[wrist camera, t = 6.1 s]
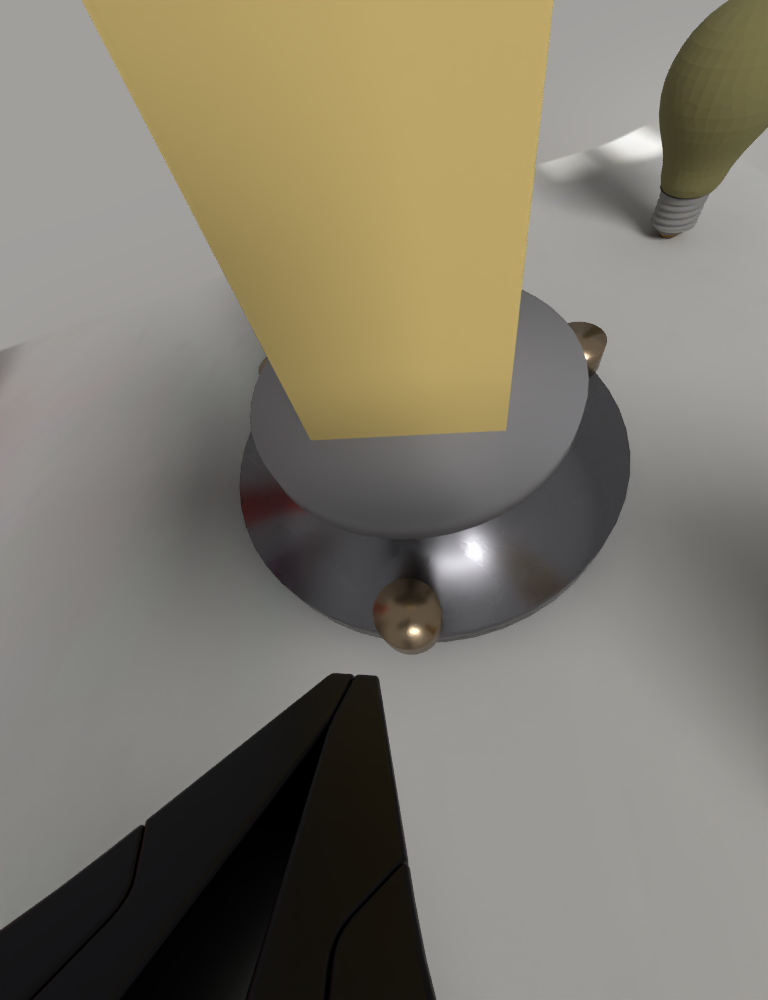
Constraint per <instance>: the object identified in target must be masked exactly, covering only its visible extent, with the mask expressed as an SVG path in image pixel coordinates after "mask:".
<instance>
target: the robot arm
mask: <svg viewBox="0 0 768 1000" xmlns="http://www.w3.org/2000/svg"><path fill="white" fill-rule="evenodd" d="M0 1000H436V996H435V992H434V988H433V984H432V980H431V976H430V972H429V968H428V964H427V960H426V955H425V950H424V945H423V939H422V934H421V929H420V924H419V919H418V914H417V908H416V903H415V897H414V891H413V885H412V879H411V872H410V868H409V866H408V856H407V850H406V844H405V837H404V831H403V825H402V819H401V813H400V806H399V800H398V794H397V788H396V782H395V775H394V769H393V763H392V757H391V751H390V744H389V738H388V732H387V726H386V720H385V713H384V707H383V701H382V695H381V689H380V682H379V678H378V677H377V676H372V675H356V676H355V677H354V676H353V675H352V674H340V673H332V674H330V675H329V676H327V677H326V678H325V679H323V680H322V681H321V682H320V683H318V684H317V685H316V686H315V687H313V688H312V689H311V690H310V691H308V692H307V693H306V694H305V695H303V696H302V697H301V698H300V699H298V700H297V701H296V702H295V703H293V704H292V705H291V706H289V707H288V708H287V709H286V710H284V711H283V712H282V713H281V714H279V715H278V716H277V717H276V718H274V719H273V720H272V721H271V722H269V723H268V724H267V725H266V726H264V727H263V728H262V729H261V730H259V731H258V732H257V733H255V734H254V735H253V736H252V737H250V738H249V739H248V740H247V741H245V742H244V743H243V744H242V745H240V746H239V747H238V748H237V749H235V750H234V751H233V752H232V753H230V754H229V755H228V756H227V757H225V758H224V759H223V760H222V761H220V762H219V763H218V764H216V765H215V766H214V767H213V768H211V769H210V770H209V771H208V772H206V773H205V774H204V775H203V776H201V777H200V778H199V779H198V780H196V781H195V782H194V783H193V784H191V785H190V786H189V787H188V788H186V789H185V790H184V791H183V792H181V793H180V794H179V795H177V796H176V797H175V798H174V799H172V800H171V801H170V802H169V803H167V804H166V805H165V806H164V807H162V808H161V809H160V810H159V811H157V812H156V813H155V814H154V815H152V816H151V817H150V818H149V819H147V821H146V823H145V826H144V825H140V826H138V827H137V828H136V829H134V830H133V831H132V832H131V833H129V834H128V835H127V836H126V837H124V838H123V839H122V840H121V841H119V842H118V843H117V844H115V845H114V846H113V847H112V848H110V849H109V850H108V851H107V852H105V853H104V854H103V855H101V856H100V857H99V858H97V859H96V860H95V861H93V862H92V863H91V864H90V865H88V866H87V867H86V868H84V869H83V870H82V871H80V872H79V873H78V874H77V875H75V876H74V877H73V878H71V879H70V880H69V881H67V882H66V883H65V884H64V885H62V886H61V887H60V888H58V889H57V890H55V891H54V892H53V893H51V894H50V895H48V896H47V897H46V898H44V899H43V900H42V901H40V902H39V903H37V904H36V905H35V906H33V907H32V908H30V909H29V910H28V911H26V912H25V913H24V914H22V915H21V916H19V917H18V918H17V919H15V920H14V921H12V922H11V923H10V924H8V925H7V926H6V927H4V928H3V929H1V930H0Z"/></svg>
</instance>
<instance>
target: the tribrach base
mask: <svg viewBox="0 0 768 1000" xmlns="http://www.w3.org/2000/svg"><path fill="white" fill-rule="evenodd" d="M567 324H568V325H569V326H570V327H571V329H572V330H573V331H574V333H575V335H576V337H577V338H578V340H579V342H580V344H581V346H582V349H583V352H584V355H585V358H586V361H587V368H588V376H589V384H588V397H587V401H586V404H585V408H584V412H583V415H582V418H581V421H580V424H579V427H578V430H577V433H576V436H575V439H574V441H573V443H572V445H571V447H570V450H569V452H568V454H567V456H566V457H565V459H564V460H563V461H562V463H561V464H560V466H559V467H558V469H557V470H556V472H555V473H554V474H553V475H552V476H551V477H550V478H549V479H548V480H547V481H546V483H545V484H544V485H543V486H542V487H541V488H540V489H539V490H537V491H536V492H535V493H534V494H532V495H531V496H530V497H529V498H527V499H526V500H525V501H524V502H522V503H521V504H519V505H518V506H516V507H514V508H513V509H511V510H509V511H508V512H506V513H505V514H503V515H501V516H499V517H497V518H495V519H492V520H490V521H488V522H486V523H483V524H481V525H479V526H476V527H473V528H470V529H466V530H463V531H460V532H457V533H453V534H448V535H443V536H437V537H432V538H422V539H406V540H400V539H383V538H375V537H369V536H364V535H358V534H354V533H351V532H348V531H345V530H342V529H339V528H336V527H333V526H331V525H329V524H327V523H325V522H323V521H321V520H319V519H317V518H315V517H314V516H312V515H311V514H309V513H308V512H306V511H305V510H304V509H302V508H301V507H299V506H298V505H297V504H296V503H295V502H294V501H293V500H292V499H291V498H290V497H289V496H288V495H287V494H286V493H285V491H284V490H283V489H282V487H281V486H280V485H279V483H278V482H277V481H276V479H275V478H274V477H273V475H272V474H271V473H270V471H269V470H268V468H267V467H266V466H265V464H264V463H263V461H262V459H261V457H260V455H259V453H258V451H257V449H256V445H255V442H254V439H253V435H252V431H251V433H250V436H249V439H248V442H247V444H246V447H245V451H244V456H243V460H242V465H241V475H240V497H241V507H242V512H243V516H244V520H245V524H246V528H247V530H248V532H249V535H250V537H251V539H252V542H253V544H254V546H255V548H256V550H257V551H258V553H259V554H260V556H261V558H262V559H263V561H264V562H265V564H266V566H267V567H268V568H269V569H270V570H271V571H272V572H273V574H274V575H275V576H276V577H277V578H278V579H279V580H280V581H281V583H282V584H284V585H285V586H286V587H287V588H288V589H290V590H291V591H292V592H293V593H294V594H296V595H297V596H298V597H299V598H300V599H302V600H303V601H304V602H305V603H307V604H308V605H309V606H310V607H311V608H313V609H314V610H316V611H317V612H319V613H321V614H322V615H324V616H326V617H327V618H329V619H331V620H332V621H334V622H336V623H338V624H341V625H343V626H345V627H348V628H350V629H353V630H355V631H357V632H360V633H364V634H368V635H372V636H375V637H379V638H383V639H384V640H385V641H386V642H387V643H388V644H389V645H390V646H391V647H392V648H393V649H395V650H396V651H398V652H400V653H404V654H410V655H411V654H419V653H423V652H425V651H427V650H428V649H430V648H431V647H432V646H434V644H435V643H436V642H447V641H454V640H460V639H466V638H472V637H477V636H480V635H483V634H487V633H490V632H493V631H496V630H500V629H503V628H505V627H507V626H509V625H512V624H514V623H516V622H518V621H520V620H522V619H525V618H527V617H529V616H531V615H532V614H534V613H535V612H537V611H538V610H540V609H542V608H543V607H545V606H546V605H548V604H549V603H551V602H552V601H554V600H555V599H556V598H557V597H558V596H560V595H561V594H562V593H563V592H564V591H565V590H566V589H568V588H569V587H570V586H571V585H572V584H573V583H574V582H575V581H576V580H577V579H578V578H579V577H580V575H581V574H582V573H583V572H584V571H585V569H586V568H587V567H588V566H589V565H590V563H591V562H592V561H593V559H594V558H595V556H596V555H597V554H598V552H599V551H600V549H601V548H602V546H603V544H604V543H605V541H606V539H607V538H608V536H609V534H610V533H611V531H612V529H613V528H614V526H615V524H616V522H617V519H618V517H619V514H620V511H621V509H622V506H623V504H624V501H625V497H626V492H627V487H628V482H629V476H630V449H629V443H628V437H627V431H626V427H625V425H624V422H623V419H622V416H621V413H620V410H619V408H618V406H617V404H616V402H615V401H614V399H613V397H612V395H611V393H610V391H609V390H608V388H607V387H606V386H605V384H604V383H603V382H602V381H601V379H600V378H599V377H598V375H597V374H596V373H595V372H596V371H597V369H598V367H599V364H600V361H601V358H602V355H603V352H604V349H605V346H606V343H607V337H606V334H605V333H604V331H603V330H602V329H601V328H599V327H598V326H596V325H593V324H590V323H586V322H572V323H567ZM267 361H268V357H266V358H265V359H264V360H263V362H262V363H261V365H260V367H259V375H260V373H261V371H262V370H263V368H264V366H265V364H266V362H267Z"/></svg>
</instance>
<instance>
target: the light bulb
mask: <svg viewBox="0 0 768 1000" xmlns="http://www.w3.org/2000/svg"><path fill="white" fill-rule="evenodd" d="M659 123H660V133H661V140H662V147H663V166H662V173H661V186H660V188H661V193H660V198H659V200H658V202H657V206H656V208H655V212H654V213H653V217H652V219H651V224H652V226H653V227H654V228H655V229H656V230H657V231H658V232H659V233H660V235H661V236H662V237H665V238H672V237H675V236H676V235H678V234H680V233H682V232H685V231H687V230H689V229H691V228H693V227H694V225H695V224H696V222H697V220H698V217H699V215H700V213H701V210H702V208H703V206H704V203H705V202H706V200H707V198H708V195H709V193H711V192H712V191H713V190H714V189H716V188H717V186H718V185H719V184H720V183H721V182H722V181H723V179H724V178H725V176H726V175H727V173H728V171H729V170H730V168H731V167H732V166H733V164H734V163H735V162H736V160H737V159H738V158H739V157H740V156H741V155H742V153H743V152H744V151H745V150H746V149H747V148H748V147H749V146H750V145H751V144H752V143H753V142H754V141H755V140H756V139H757V138H758V137H759V136H760V135H761V133H763V131H764V130H765V129H766V128H767V127H768V0H729V1H727V2H726V3H724V4H723V5H722V6H721V7H719V8H718V9H717V10H715V11H714V12H713V13H711V14H710V15H709V16H708V17H707V18H706V19H705V20H704V21H703V22H702V23H701V24H700V25H699V26H698V27H697V28H696V29H695V30H694V31H693V33H692V34H691V35H690V37H689V38H688V39H687V40H686V42H685V43H684V45H683V46H682V48H681V49H680V51H679V53H678V54H677V56H676V58H675V59H674V61H673V63H672V65H671V68H670V69H669V72H668V74H667V77H666V79H665V82H664V86H663V90H662V94H661V100H660V109H659Z"/></svg>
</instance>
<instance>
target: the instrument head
mask: <svg viewBox="0 0 768 1000" xmlns="http://www.w3.org/2000/svg"><path fill="white" fill-rule="evenodd" d="M82 2H83V4H84V6H85V8H86V10H87V11H88V13H89V15H90V17H91V19H92V21H93V23H94V25H95V27H96V29H97V31H98V32H99V35H100V36H101V38H102V40H103V42H104V44H105V46H106V48H107V50H108V52H109V53H110V56H111V58H112V60H113V61H114V63H115V65H116V67H117V69H118V71H119V73H120V75H121V77H122V79H123V81H124V83H125V84H126V86H127V88H128V90H129V92H130V94H131V96H132V98H133V100H134V102H135V104H136V106H137V108H138V109H139V111H140V113H141V115H142V117H143V119H144V121H145V123H146V125H147V127H148V129H149V130H150V132H151V134H152V136H153V138H154V140H155V142H156V144H157V146H158V148H159V150H160V152H161V154H162V156H163V158H164V159H165V161H166V163H167V165H168V167H169V169H170V171H171V173H172V175H173V176H174V179H175V181H176V182H177V184H178V186H179V188H180V190H181V192H182V194H183V196H184V198H185V200H186V202H187V204H188V205H189V207H190V209H191V211H192V213H193V215H194V217H195V219H196V221H197V223H198V225H199V227H200V229H201V231H202V232H203V234H204V236H205V238H206V240H207V242H208V244H209V246H210V248H211V250H212V252H213V253H214V256H215V257H216V259H217V261H218V263H219V265H220V267H221V269H222V271H223V273H224V275H225V277H226V279H227V280H228V282H229V284H230V286H231V288H232V290H233V292H234V294H235V296H236V298H237V300H238V302H239V304H240V305H241V307H242V309H243V311H244V313H245V315H246V317H247V319H248V321H249V323H250V325H251V327H252V329H253V330H254V332H255V334H256V336H257V338H258V340H259V342H260V344H261V346H262V348H263V350H264V352H265V353H266V355H267V357H268V361H267V362H266V364H265V366H264V368H263V370H262V371H261V373H260V376H259V378H258V381H257V383H256V386H255V389H254V394H253V398H252V402H251V416H250V419H251V429H252V435H253V439H254V442H255V445H256V449H257V451H258V453H259V455H260V457H261V459H262V461H263V463H264V464H265V466H266V467H267V468H268V470H269V471H270V473H271V474H272V475H273V477H274V478H275V479H276V481H277V482H278V483H279V485H280V486H281V487H282V489H283V490H284V491H285V493H286V494H287V495H288V496H289V497H290V498H291V499H292V500H293V501H294V502H295V503H296V504H297V505H298V506H299V507H301V508H302V509H304V510H305V511H306V512H308V513H309V514H311V515H312V516H314V517H315V518H317V519H319V520H321V521H323V522H325V523H327V524H329V525H331V526H333V527H336V528H339V529H342V530H345V531H348V532H351V533H354V534H358V535H364V536H369V537H375V538H383V539H400V540H406V539H422V538H432V537H437V536H443V535H448V534H453V533H457V532H460V531H463V530H466V529H470V528H473V527H476V526H479V525H481V524H483V523H486V522H488V521H490V520H492V519H495V518H497V517H499V516H501V515H503V514H505V513H506V512H508V511H509V510H511V509H513V508H514V507H516V506H518V505H519V504H521V503H522V502H524V501H525V500H526V499H527V498H529V497H530V496H531V495H532V494H534V493H535V492H536V491H537V490H539V489H540V488H541V487H542V486H543V485H544V484H545V483H546V481H547V480H548V479H549V478H550V477H551V476H552V475H553V474H554V473H555V472H556V470H557V469H558V467H559V466H560V464H561V463H562V461H563V460H564V459H565V457H566V456H567V454H568V452H569V450H570V447H571V445H572V443H573V441H574V439H575V436H576V433H577V430H578V427H579V424H580V421H581V418H582V415H583V412H584V408H585V404H586V401H587V397H588V384H589V376H588V368H587V361H586V358H585V355H584V352H583V349H582V346H581V344H580V342H579V340H578V338H577V337H576V335H575V333H574V331H573V330H572V329H571V327H570V326H569V325H568V324H567V322H566V321H565V320H564V319H563V318H562V317H561V316H560V315H559V314H558V313H557V312H556V311H555V310H554V309H552V308H551V307H550V306H549V305H547V304H546V303H544V302H543V301H541V300H540V299H538V298H537V297H535V296H533V295H531V294H529V293H527V292H525V291H524V290H522V282H523V273H524V264H525V255H526V246H527V237H528V228H529V219H530V210H531V201H532V192H533V183H534V174H535V164H536V155H537V146H538V137H539V128H540V119H541V110H542V101H543V91H544V83H545V74H546V65H547V56H548V46H549V38H550V29H551V20H552V11H553V2H554V0H82Z"/></svg>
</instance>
